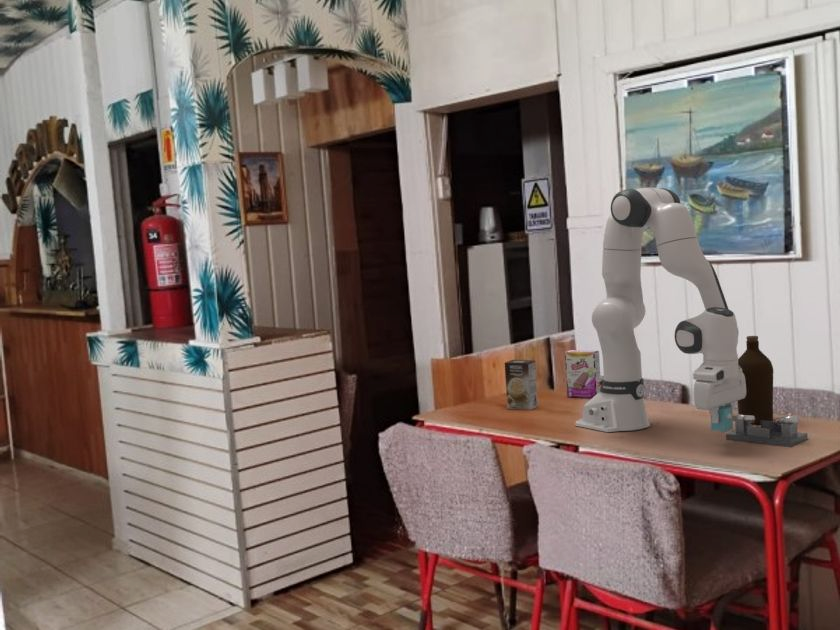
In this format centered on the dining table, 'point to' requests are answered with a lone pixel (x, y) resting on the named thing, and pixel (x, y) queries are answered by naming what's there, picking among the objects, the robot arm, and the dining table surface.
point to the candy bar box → (582, 373)
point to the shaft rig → (767, 431)
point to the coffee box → (521, 384)
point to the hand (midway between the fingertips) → (721, 420)
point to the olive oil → (756, 383)
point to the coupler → (723, 419)
